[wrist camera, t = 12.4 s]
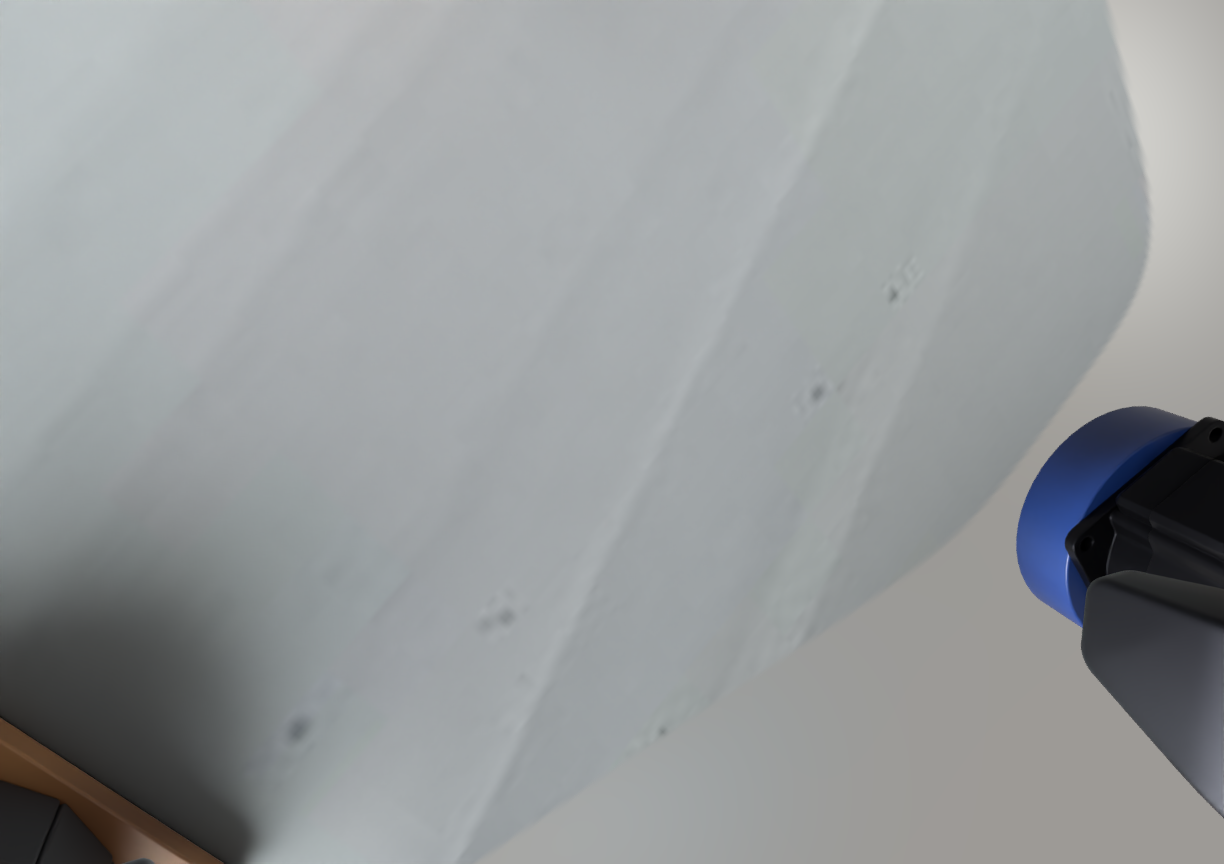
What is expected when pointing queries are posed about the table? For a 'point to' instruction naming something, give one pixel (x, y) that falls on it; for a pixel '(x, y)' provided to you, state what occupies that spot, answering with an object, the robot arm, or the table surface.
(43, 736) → the table surface
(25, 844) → the tape roll
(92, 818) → the cork mat
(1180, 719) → the robot arm
